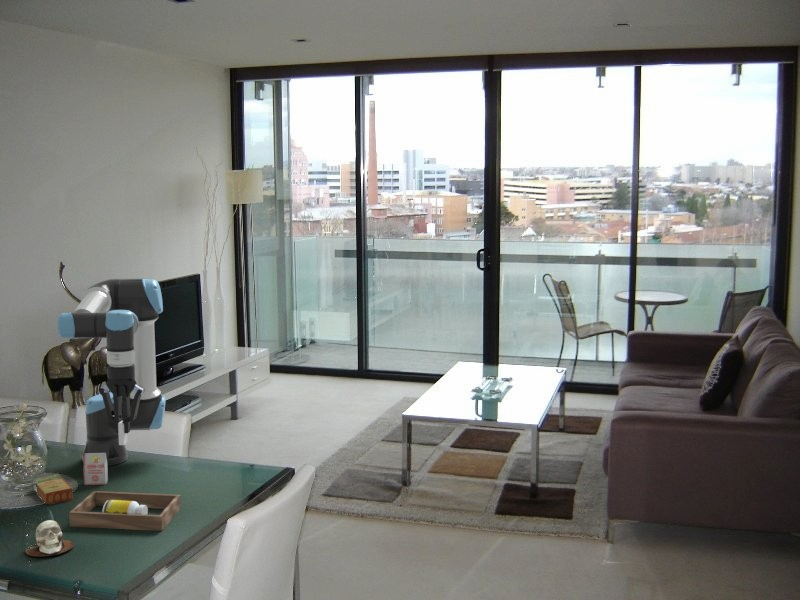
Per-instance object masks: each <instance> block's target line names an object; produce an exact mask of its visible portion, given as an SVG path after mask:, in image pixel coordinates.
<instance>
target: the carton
mask: <svg viewBox="0 0 800 600" xmlns="http://www.w3.org/2000/svg"><path fill="white" fill-rule="evenodd" d="M36 487H37V493H38V495H39V496H40V497H41V498H42V500H43V501H44V502H45V503H46V504H49V505H53V504H52V503H54V504H58V502H59V503H64V502H69V501H73V499H74V497H73V496H74V495H73V493H74V492H73V487H71V485H70V484H69V483H68V482H67V481H66V480H65V479H64V478H63V477H62V476H61V474H59V473H56V474H51V475H46V476H40V479H39V480H38V481H37V482H36ZM38 495H37V496H38ZM39 496H38V497H39ZM40 497H39V498H40ZM42 500H41V501H42ZM43 501H42V502H43ZM63 501H64V502H63ZM44 502H43V503H44Z"/></svg>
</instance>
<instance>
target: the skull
mask: <svg viewBox="0 0 800 600" xmlns="http://www.w3.org/2000/svg"><path fill="white" fill-rule="evenodd" d="M35 540H36V544H37V546H39V547H38V548H37V547H30V546H28V547H27V548H29V547H30V549H27V548H26V549H25V551H24V552H25V553H26V555H28V556H30V557H41V558H42V557H51V556H56V555H61V554H62V553H65V552H67V551H70V550H71V549H73V547H74V546H75V545H74V542H73V541H71V540H68V539H67V540H66V539H63V532H62V529H61V527H60V525H59V523H58V522H57V521H55V520H52V519H50V520H49V519H48V520H45V521H42V522H41V523H40V524H39V525H38V526H37V527H36V529H35Z"/></svg>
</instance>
